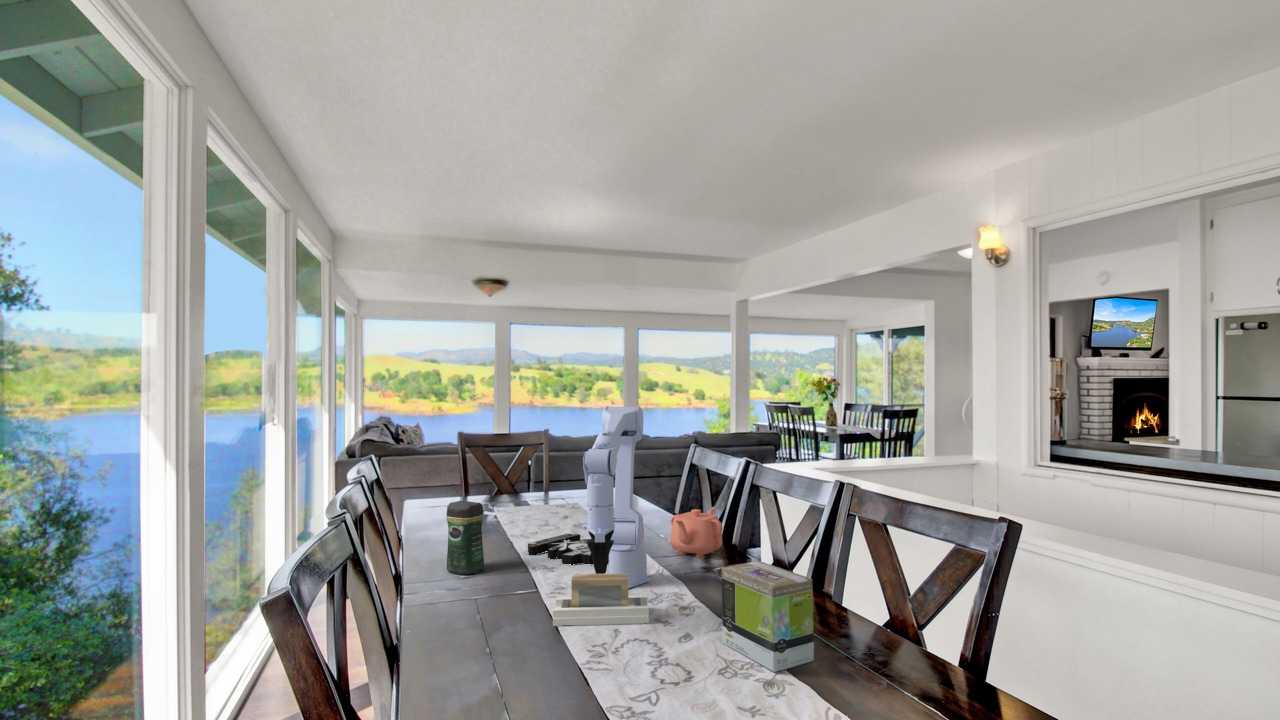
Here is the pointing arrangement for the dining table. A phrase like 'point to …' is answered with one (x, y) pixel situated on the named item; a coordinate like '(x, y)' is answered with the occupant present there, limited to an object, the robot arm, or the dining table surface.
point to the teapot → (696, 532)
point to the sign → (564, 549)
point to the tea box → (768, 614)
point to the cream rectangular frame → (601, 613)
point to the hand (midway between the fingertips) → (601, 567)
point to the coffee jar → (465, 537)
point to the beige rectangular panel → (599, 590)
